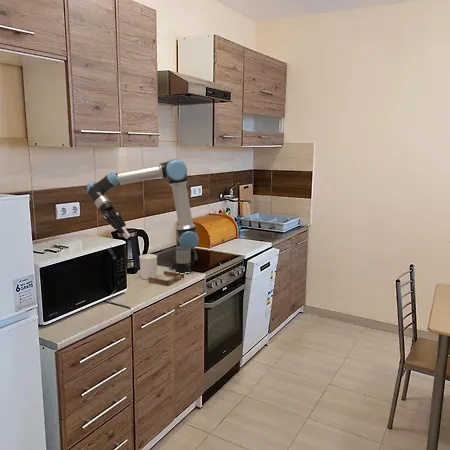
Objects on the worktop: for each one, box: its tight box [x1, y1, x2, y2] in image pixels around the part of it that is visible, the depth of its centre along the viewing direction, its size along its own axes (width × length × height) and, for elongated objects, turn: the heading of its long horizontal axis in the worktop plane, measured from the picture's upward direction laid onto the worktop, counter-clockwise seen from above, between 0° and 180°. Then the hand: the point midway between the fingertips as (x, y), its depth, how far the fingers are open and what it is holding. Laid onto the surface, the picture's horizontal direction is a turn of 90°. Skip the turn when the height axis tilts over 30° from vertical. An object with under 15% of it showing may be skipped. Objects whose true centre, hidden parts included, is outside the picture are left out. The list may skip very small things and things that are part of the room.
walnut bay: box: [147, 270, 185, 287], centre depth 233 cm, size 15×13×2 cm
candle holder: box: [138, 253, 158, 280], centre depth 237 cm, size 10×10×12 cm
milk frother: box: [168, 246, 196, 273], centre depth 251 cm, size 14×16×15 cm
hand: (128, 237), depth 241 cm, fingers closed
